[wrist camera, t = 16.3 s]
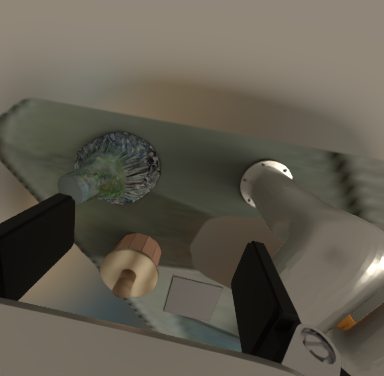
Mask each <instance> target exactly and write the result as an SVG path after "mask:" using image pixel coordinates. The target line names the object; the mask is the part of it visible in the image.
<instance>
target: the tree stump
mask: <svg viewBox="0 0 384 376" xmlns="http://www.w3.org/2000/svg"><path fill="white" fill-rule="evenodd" d="M77 155H78V157H77V160H76V162H75V165H74V166H75V167H74V170H75V171H74V172H71V173H69V174H66V175H64V176H62V177H60V178H59V181H58V189H59V192H60V193H62V194H66V195H70V196H72V198H73V199H74V200H75V205H79V204H81V203H83V202H85V201H88V200H91V199H93V198H96V197H98V198H99V199H104V200H106V201H107V202H109V203H111V204H117V203H118V204H120V205H123V204H124V203H125V202H127V203H129V202H134V201H136V200H138V199H140V198H142V197H143V196H144V195H145V194H146V193H148V192H150V191H151V190H152V189H154V187H155V185H156V182H157V180H158V178H159V176H160V165H159V158H158V156H157V154H156V152H155V150H154V149H153V147H152V146H151V145H150V144H149V143H147V142H146V141H145V140H143V139H141V138H139V137H136V136H134V135H132V134H130V133H122V132H116V133H110V134H105V135H103V136H100V137H98V138H95V139H94V140H93V141H92V142H90V143H88V145H83V147H82V150H81V151H78V152H77ZM146 158H147V159H148V161H146ZM148 162H149V164H148Z"/></svg>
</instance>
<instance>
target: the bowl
mask: <svg viewBox="0 0 384 376" xmlns="http://www.w3.org/2000/svg"><path fill="white" fill-rule="evenodd" d="M121 248H130V249H135V250H138V251H141V252H143V253H145V254H146V255H148V256H149V257H150V258H151V259H152V260H153V261H154V263H155V264H156V266H157V267H158V264H159V261H160V256H161V250H160V247H159V245H158V243H157V242H156V241H155V240H153V239H152V238H151V237H150V236H148V235H144V234H140V233H134V234H129V235H126V236H125V237H124V238H123V239H122V240H121V241H120V242H119V243H118V244H117V246H116V247H115V249H114V250H117V249H121ZM114 250H113V251H114Z"/></svg>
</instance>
